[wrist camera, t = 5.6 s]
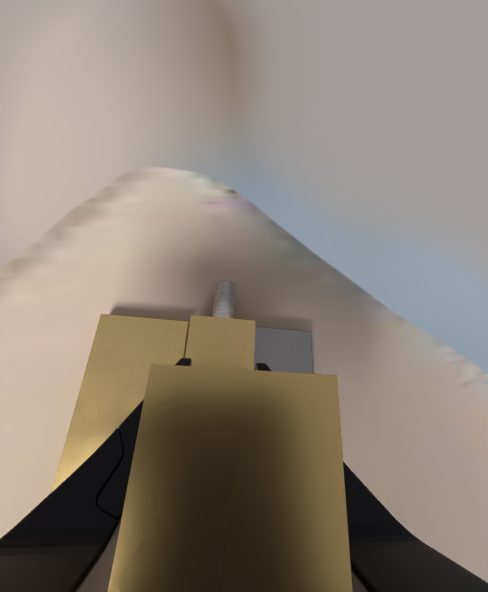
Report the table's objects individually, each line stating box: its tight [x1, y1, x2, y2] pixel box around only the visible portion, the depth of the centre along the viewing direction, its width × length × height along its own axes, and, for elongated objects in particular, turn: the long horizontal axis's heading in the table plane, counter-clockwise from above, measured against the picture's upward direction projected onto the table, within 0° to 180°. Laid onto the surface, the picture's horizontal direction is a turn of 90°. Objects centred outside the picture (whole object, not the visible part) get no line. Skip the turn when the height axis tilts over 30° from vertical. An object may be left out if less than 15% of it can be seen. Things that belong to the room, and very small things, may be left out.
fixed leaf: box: [212, 281, 313, 374], centre depth 15 cm, size 15×9×3 cm, turn 177°
